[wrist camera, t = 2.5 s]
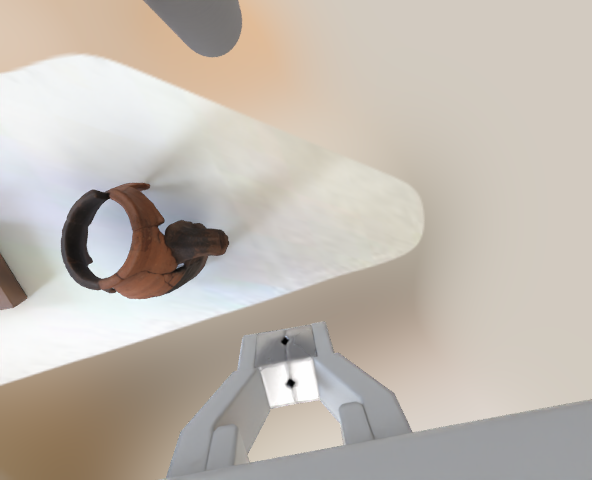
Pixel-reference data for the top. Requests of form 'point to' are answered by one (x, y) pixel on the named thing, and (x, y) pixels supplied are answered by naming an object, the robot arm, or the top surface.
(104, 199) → the pottery mug
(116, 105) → the top surface
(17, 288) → the cutting board
